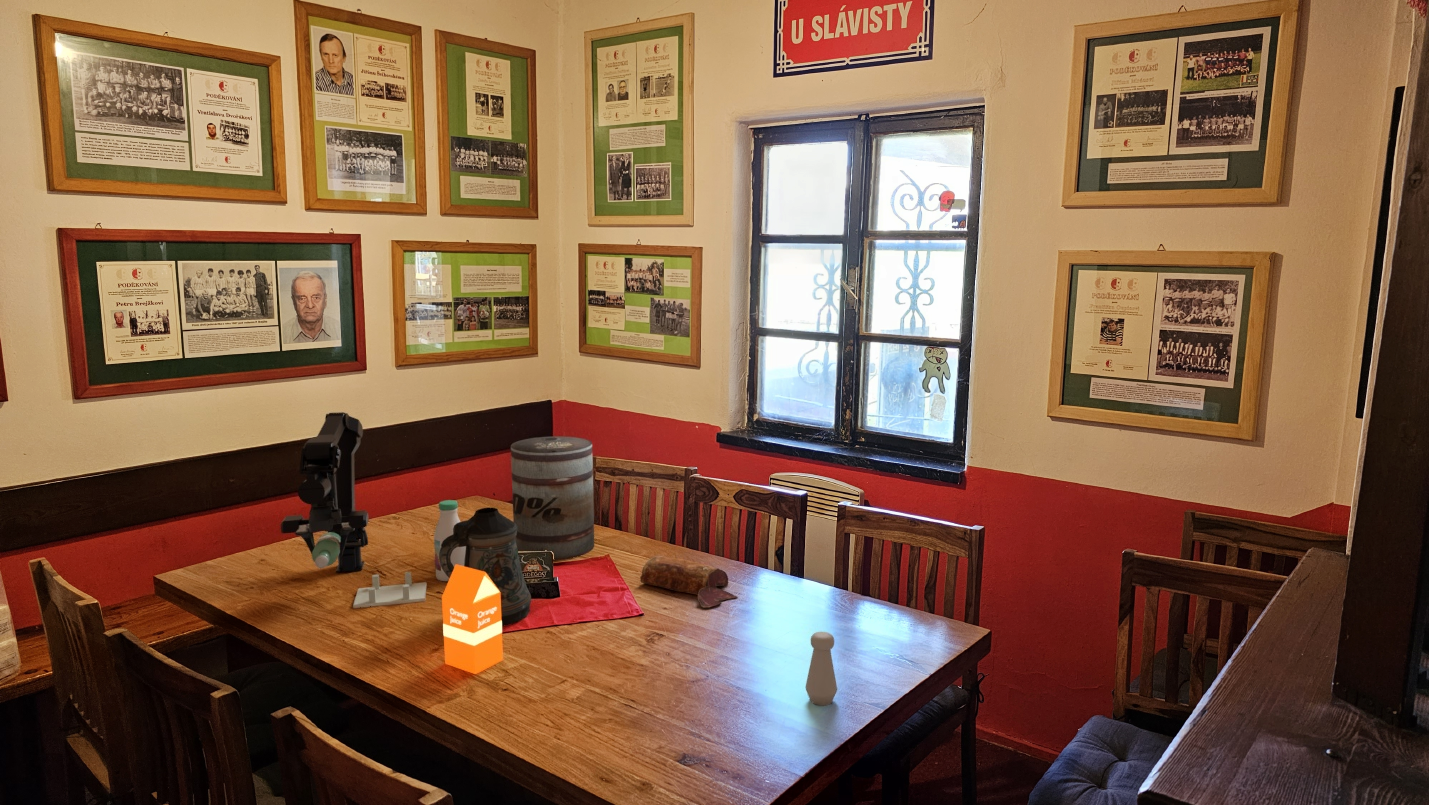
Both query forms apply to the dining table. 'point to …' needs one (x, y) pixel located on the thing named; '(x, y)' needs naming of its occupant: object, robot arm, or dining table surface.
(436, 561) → the milk bottle
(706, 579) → the cured meat
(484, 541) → the beer stein
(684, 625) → the dining table surface
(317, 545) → the bottle
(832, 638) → the salt shaker
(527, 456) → the barrel
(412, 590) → the white four-legged tray
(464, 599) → the orange juice
